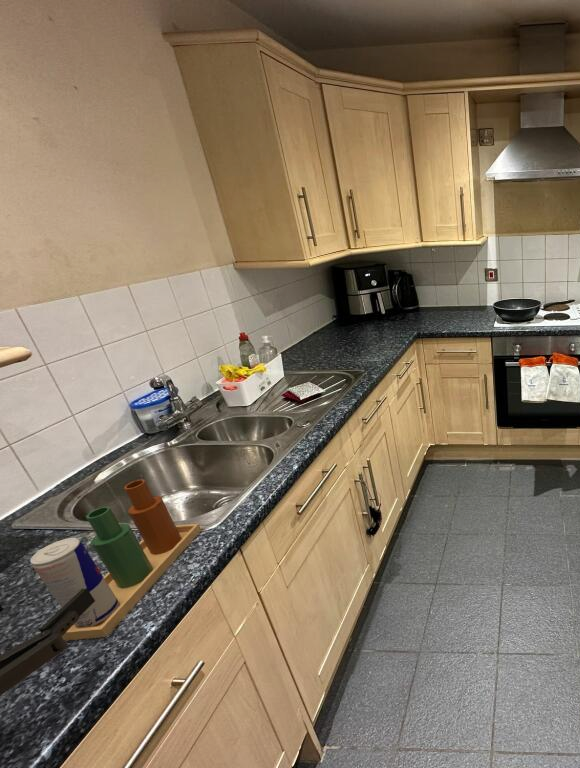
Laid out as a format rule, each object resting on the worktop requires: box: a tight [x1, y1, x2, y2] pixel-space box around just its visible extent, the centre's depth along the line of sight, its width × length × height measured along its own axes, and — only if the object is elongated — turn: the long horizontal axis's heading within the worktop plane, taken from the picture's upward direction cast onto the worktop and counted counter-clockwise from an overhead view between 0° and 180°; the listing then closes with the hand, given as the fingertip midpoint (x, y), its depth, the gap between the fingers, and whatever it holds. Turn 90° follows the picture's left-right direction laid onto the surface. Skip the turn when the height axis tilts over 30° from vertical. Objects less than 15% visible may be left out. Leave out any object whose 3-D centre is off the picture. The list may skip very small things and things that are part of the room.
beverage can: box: [29, 537, 119, 628], centre depth 67 cm, size 6×6×15 cm
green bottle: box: [85, 506, 153, 588], centre depth 74 cm, size 5×5×16 cm
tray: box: [62, 523, 203, 642], centre depth 77 cm, size 9×24×2 cm, turn 3°
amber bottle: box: [124, 479, 182, 555], centre depth 81 cm, size 5×5×16 cm
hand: (43, 598), depth 62 cm, fingers open, 13 cm apart
